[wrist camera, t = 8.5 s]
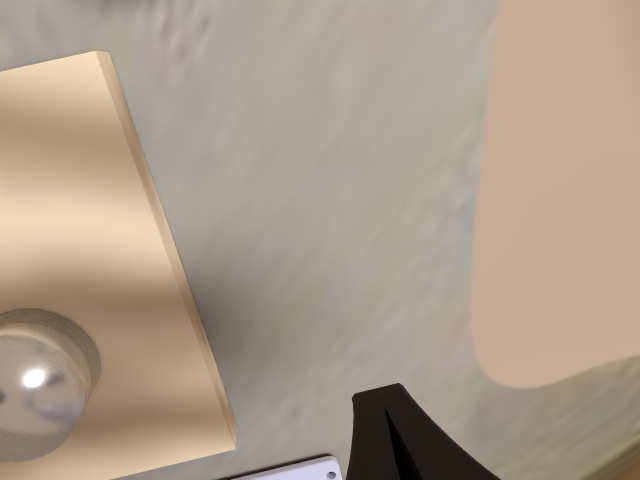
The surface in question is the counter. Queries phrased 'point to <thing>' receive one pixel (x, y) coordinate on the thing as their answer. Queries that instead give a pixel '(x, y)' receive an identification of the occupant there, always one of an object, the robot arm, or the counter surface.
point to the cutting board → (103, 274)
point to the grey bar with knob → (42, 381)
